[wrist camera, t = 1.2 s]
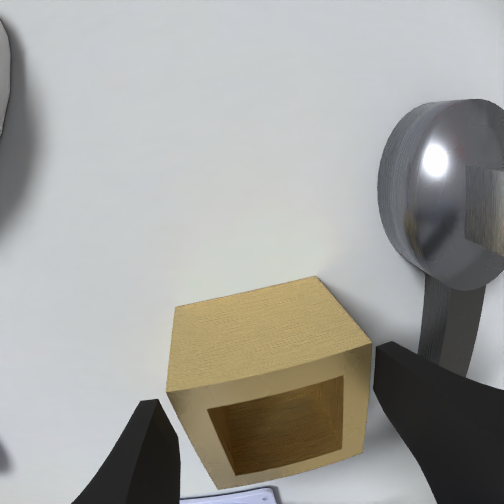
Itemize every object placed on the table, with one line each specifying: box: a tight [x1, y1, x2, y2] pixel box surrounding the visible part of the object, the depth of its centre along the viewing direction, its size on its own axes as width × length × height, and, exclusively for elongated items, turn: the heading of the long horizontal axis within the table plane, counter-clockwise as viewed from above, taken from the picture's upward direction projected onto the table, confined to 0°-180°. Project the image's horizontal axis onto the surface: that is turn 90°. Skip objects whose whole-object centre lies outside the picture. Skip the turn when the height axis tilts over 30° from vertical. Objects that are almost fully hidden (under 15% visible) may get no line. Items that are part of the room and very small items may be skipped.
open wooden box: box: [166, 276, 372, 490], centre depth 10 cm, size 5×5×4 cm
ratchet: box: [377, 99, 504, 377], centre depth 11 cm, size 19×7×6 cm, turn 10°
